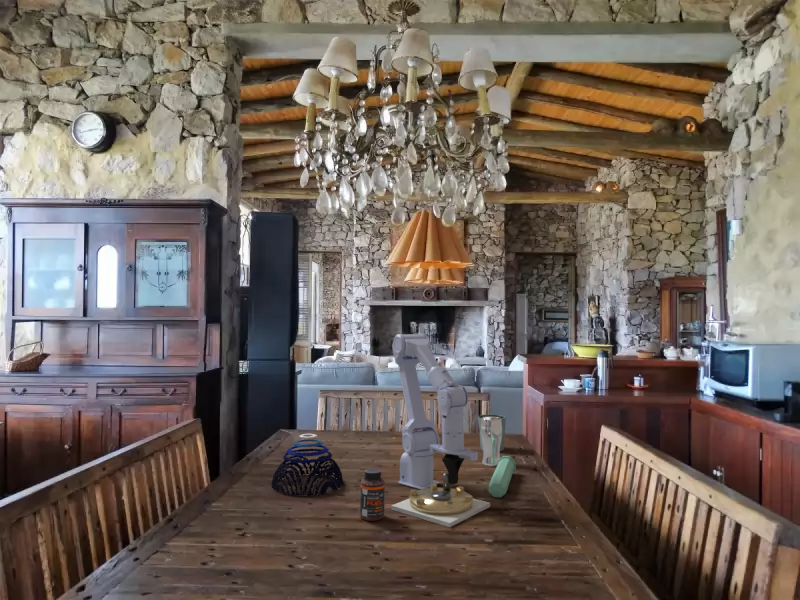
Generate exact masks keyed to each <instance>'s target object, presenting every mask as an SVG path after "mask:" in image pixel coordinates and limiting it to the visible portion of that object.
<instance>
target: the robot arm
mask: <svg viewBox="0 0 800 600" xmlns="http://www.w3.org/2000/svg"><path fill="white" fill-rule="evenodd" d="M391 347H392V353H393V359H394V362H395V364H396V365H397V367H398V373H399V377H400V382H401V387H402V393H403V398H404V404H405V408H406V414H407V420H408V421H407V423H406V424H405V425H404V426H403V428H402V429H401V434H402V439H401V444H402V448H403V450H404V452H403V453H402V454H401V456H400V460H399V481H398V482H397V483H398V484H399V485H403V486H407V487H410V488H414V489H417V490H421V489H426V488H430V484H436V485H437V486H438V485H439V484H440V481H438V480H434V454H436V453H437V454H442V455H444V456H443V457H442V459H441V460H442V462H443V464H444V467H445V468H446V470H447V472H448V474H449V484H451V485H453V486H454V485H457V484H458V483H459V471H460V468H461V467H462V464H463V462H464V460H469V461H471V462H475V461H478V460H479V454H478V453H479V452H478V451H474V450H472V449H471V450H470V449H468V448H465V440H464V439H465V436H464V435H465V431H464V425H465V423H464V421H465V420H464V407H466V405H467V404H468V402H469V394H468V391H467V390H466V387H465V386H464V385H462V384H459V383H456V381H455V380H454V379H453V377H452V376H451V374H450V373H449V371H448V370H447V368H446V367H445V366H443V365H442V366H441V365H439V363H438V362H437V359H436V358H435V356H434V354H433V352H432V350H431V341H430V339H429V338H428V336H427V335H426V333H420V334H419V333H412V334H410V333H409V334H408V333H407V334H405V333H404V334H401V333H398V334H396V335H395V336H394V338H393V342H392V345H391ZM418 364H421V365H422V366H423V367H424V369H425V370H426V371H427V373H428V375H427V379H428V381H429V382H430V385H431V386H432V387H433V389H434V390H435V392H436V393H437V397H436V398H437V403H438V406H439V412H440V415H441V429H442V430H441V435H442V437H441V439H442V443H441V444H440V442H441V441H440V440H441V439H440V436H439V434H438V432H437V429H436V427H435V423H433V422H432V421H431V420H429V419H428V418H427V416H426V412H425V407H424V402H423V396H422V391H421V386H420V382H419V377H418V376H419V375H418V373H417V366H418Z"/></svg>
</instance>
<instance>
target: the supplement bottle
mask: <svg viewBox="0 0 800 600" xmlns="http://www.w3.org/2000/svg"><path fill="white" fill-rule="evenodd" d="M385 485H386V482H385V480H384V478H382V471H381V469H380V468H379V469H378V468H367V469H365V470H364V477H363V478H362V479H361V481H360V489H359V490H360V492H359V493H360V495H359V497H360V498H359V500H360V501H359V504H360V505H359V508H360V509H359V513H360V514H359V516H360V518H361V519H362V520H364V521H368V522H377V521H380V520H382V519H383V518H384V517H385V503H386V502H385V501H386V499H385V497H386V495H385V491H386V490H385V489H386V487H385Z"/></svg>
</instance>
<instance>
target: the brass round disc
mask: <svg viewBox="0 0 800 600" xmlns="http://www.w3.org/2000/svg"><path fill="white" fill-rule="evenodd" d="M442 477H443V478H442V487H438V484H437V485H436V484H430V487H429V488H426V489H411V490H410V491H409V498H410V505H411V507H412V508H414V509H416V510H418V511H421V512H424V513H429V514H437V515H451V514H458V513H462V512H465V511H468V510H469V509H471V508H472V506H473V499H474V496H473V495H471V494H470V493H468V492H466V491H465V487H463V486H457V487H455V488H451V487H452V486H451V485H452V484H449V474H448V471H447V472H443V473H442Z"/></svg>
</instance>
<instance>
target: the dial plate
mask: <svg viewBox="0 0 800 600" xmlns="http://www.w3.org/2000/svg"><path fill="white" fill-rule="evenodd" d="M490 507H491V502H488V501H484V500H481V499H476V498H473V506H472V508H471V509H469V510H468V511H465V512H462V513H458V514H451V515H437V514H429V513H424V512H421V511H418V510H416V509H414V508H412V507H411V505H410V497H408V498H407V499H405V500H402V501H400V502H397V503H394V504H391V511H395V512H398V513H402V514H405V515H408V516H411V517H415V518H417V519H422V520H425V521H427V522H431V523H434V524H438V525H441V526H443V527H444V526H445V527H447V528H452V527H454V526H455V525H457V524H459V523H461V522H463V521H465V520H467V519H469V518H471V517H472V516H474V515H476V514H479V513H482V511H485V510H486V509H489V508H490Z"/></svg>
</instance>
